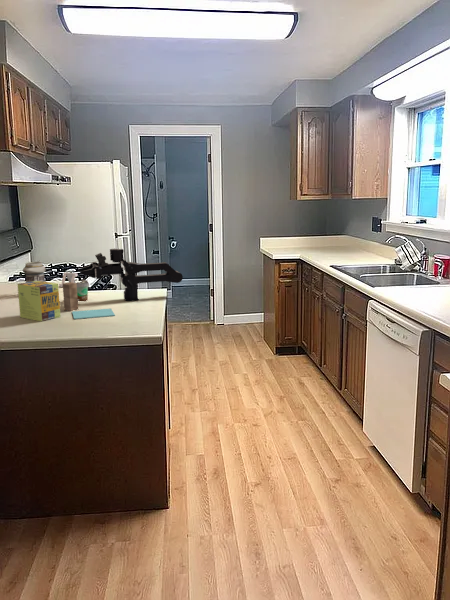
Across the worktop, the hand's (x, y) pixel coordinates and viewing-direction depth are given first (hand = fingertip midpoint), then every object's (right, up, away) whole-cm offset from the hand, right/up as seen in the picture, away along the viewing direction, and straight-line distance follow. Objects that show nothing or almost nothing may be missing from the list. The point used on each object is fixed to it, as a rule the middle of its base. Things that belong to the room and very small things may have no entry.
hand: (79, 271), depth 254 cm
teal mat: (+12, -21, -19) cm, 31 cm away
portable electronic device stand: (-20, -7, +49) cm, 54 cm away
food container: (-1, -15, +11) cm, 18 cm away
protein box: (-11, -22, -24) cm, 35 cm away
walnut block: (-1, -19, -10) cm, 22 cm away
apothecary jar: (-31, -12, +26) cm, 42 cm away
